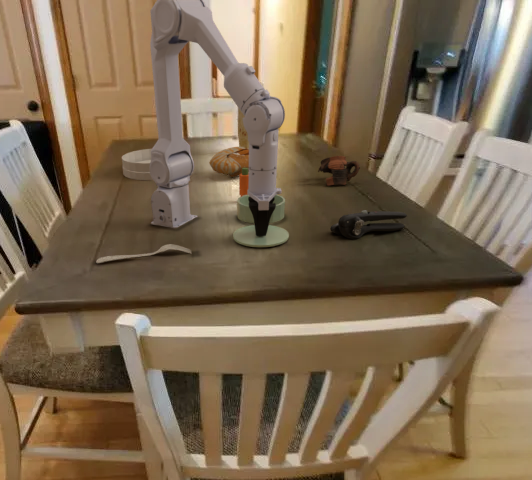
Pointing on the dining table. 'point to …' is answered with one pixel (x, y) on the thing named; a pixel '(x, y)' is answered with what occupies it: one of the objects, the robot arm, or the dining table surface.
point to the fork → (163, 248)
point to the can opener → (355, 226)
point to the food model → (242, 131)
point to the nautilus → (230, 161)
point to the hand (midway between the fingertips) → (260, 232)
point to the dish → (137, 164)
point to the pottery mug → (338, 170)
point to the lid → (251, 239)
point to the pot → (247, 216)
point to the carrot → (243, 182)
